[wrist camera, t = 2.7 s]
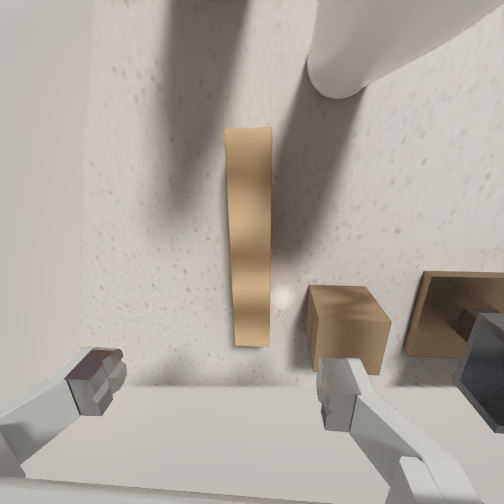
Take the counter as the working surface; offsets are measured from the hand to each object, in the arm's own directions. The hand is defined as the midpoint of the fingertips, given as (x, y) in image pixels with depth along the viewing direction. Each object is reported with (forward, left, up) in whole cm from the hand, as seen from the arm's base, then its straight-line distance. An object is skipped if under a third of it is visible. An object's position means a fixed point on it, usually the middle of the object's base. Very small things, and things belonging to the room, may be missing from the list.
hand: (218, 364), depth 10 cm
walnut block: (-9, +8, -16) cm, 20 cm away
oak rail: (0, 0, -16) cm, 16 cm away
